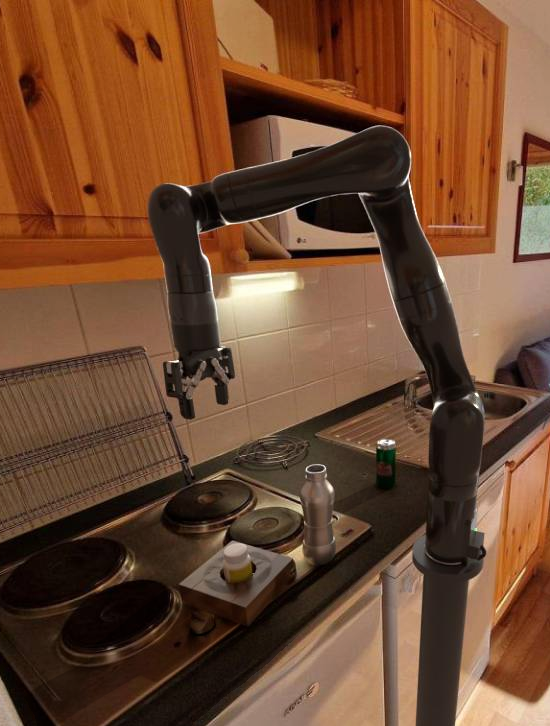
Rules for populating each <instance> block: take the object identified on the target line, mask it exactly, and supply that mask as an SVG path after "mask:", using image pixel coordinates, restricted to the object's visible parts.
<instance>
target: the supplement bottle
mask: <svg viewBox="0 0 550 726" xmlns="http://www.w3.org/2000/svg"><path fill="white" fill-rule="evenodd" d="M241 543H242V542H239V543H236V544H232V545H229V546H228V547H226V548H225V549H224V561H223V569H224V575H225V581H227V582H241V581H245V580H247V579H249V578H250V577H252V576H253V574H252V566H251V558H250V556H249V555H248V550H247V547H246V545H247V544H246V545H244V544H245V543H243V544H241Z"/></svg>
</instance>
